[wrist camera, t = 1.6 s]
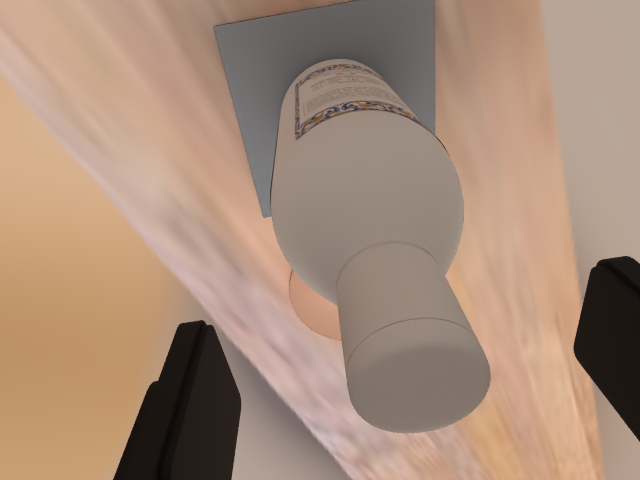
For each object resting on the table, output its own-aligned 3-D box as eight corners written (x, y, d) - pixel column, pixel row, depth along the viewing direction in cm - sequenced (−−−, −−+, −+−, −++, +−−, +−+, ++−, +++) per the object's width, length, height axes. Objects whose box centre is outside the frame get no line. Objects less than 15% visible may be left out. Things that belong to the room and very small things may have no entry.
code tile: (213, 26, 22) (213, 26, 22) (433, -14, 22) (434, -14, 22) (263, 216, 29) (263, 217, 29) (434, 188, 28) (435, 190, 28)
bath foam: (355, 188, 28) (449, 507, 11) (261, 141, 26) (195, 445, 9) (415, 94, 25) (677, 336, 8) (314, 32, 23) (368, 178, 6)
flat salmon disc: (276, 239, 30) (276, 243, 29) (427, 215, 29) (429, 219, 29) (303, 344, 36) (303, 350, 35) (429, 326, 35) (431, 331, 35)
